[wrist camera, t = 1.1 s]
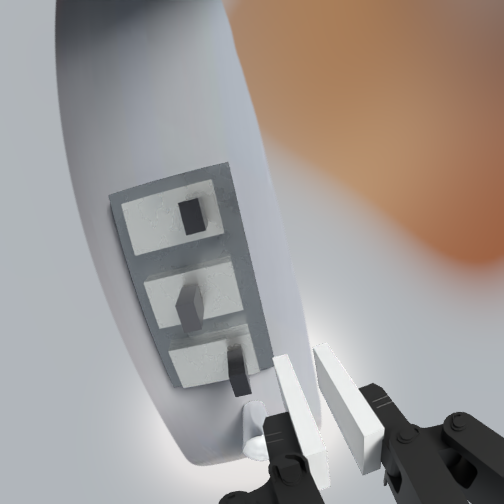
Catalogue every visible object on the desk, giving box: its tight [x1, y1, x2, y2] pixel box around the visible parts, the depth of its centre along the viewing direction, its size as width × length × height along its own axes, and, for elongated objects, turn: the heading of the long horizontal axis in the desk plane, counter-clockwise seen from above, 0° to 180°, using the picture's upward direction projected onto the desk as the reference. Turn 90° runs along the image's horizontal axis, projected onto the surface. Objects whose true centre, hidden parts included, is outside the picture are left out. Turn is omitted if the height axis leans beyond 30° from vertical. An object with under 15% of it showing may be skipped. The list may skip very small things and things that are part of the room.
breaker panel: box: [109, 162, 274, 397], centre depth 30 cm, size 24×13×10 cm, turn 13°
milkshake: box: [240, 400, 269, 461], centre depth 34 cm, size 4×5×10 cm
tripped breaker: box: [175, 284, 204, 333], centre depth 27 cm, size 3×2×5 cm, turn 13°
